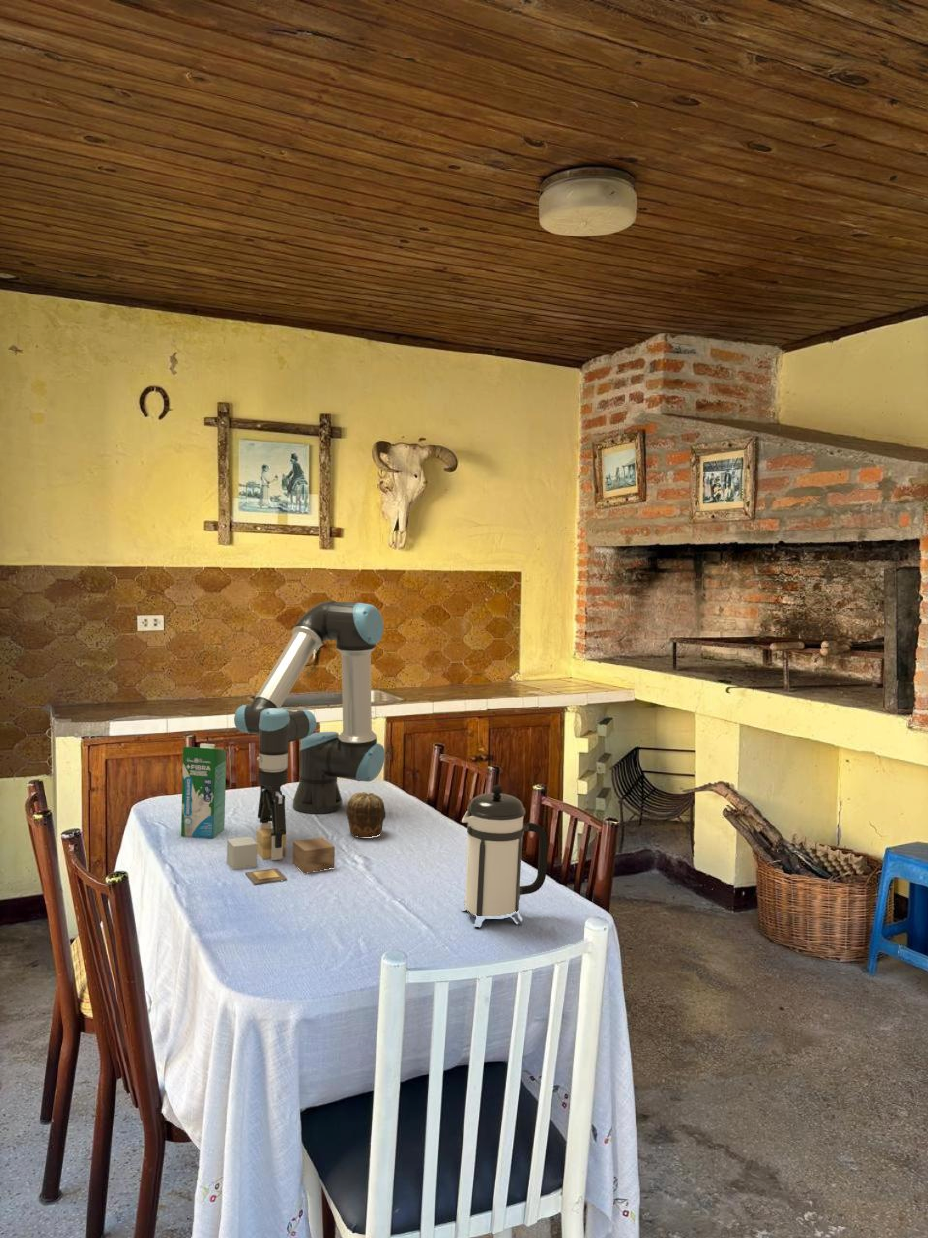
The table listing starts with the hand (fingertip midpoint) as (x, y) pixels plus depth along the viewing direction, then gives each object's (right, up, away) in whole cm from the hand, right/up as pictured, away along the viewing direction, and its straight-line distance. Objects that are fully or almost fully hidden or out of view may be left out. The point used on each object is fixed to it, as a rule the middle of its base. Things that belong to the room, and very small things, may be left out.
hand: (270, 853), depth 239 cm
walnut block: (+12, -2, -8) cm, 15 cm away
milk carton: (-22, +2, +15) cm, 27 cm away
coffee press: (+58, -5, -35) cm, 67 cm away
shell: (+22, 0, +19) cm, 30 cm away
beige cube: (-6, -1, -9) cm, 10 cm away
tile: (+2, -2, -17) cm, 17 cm away
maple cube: (0, 0, 0) cm, 0 cm away
